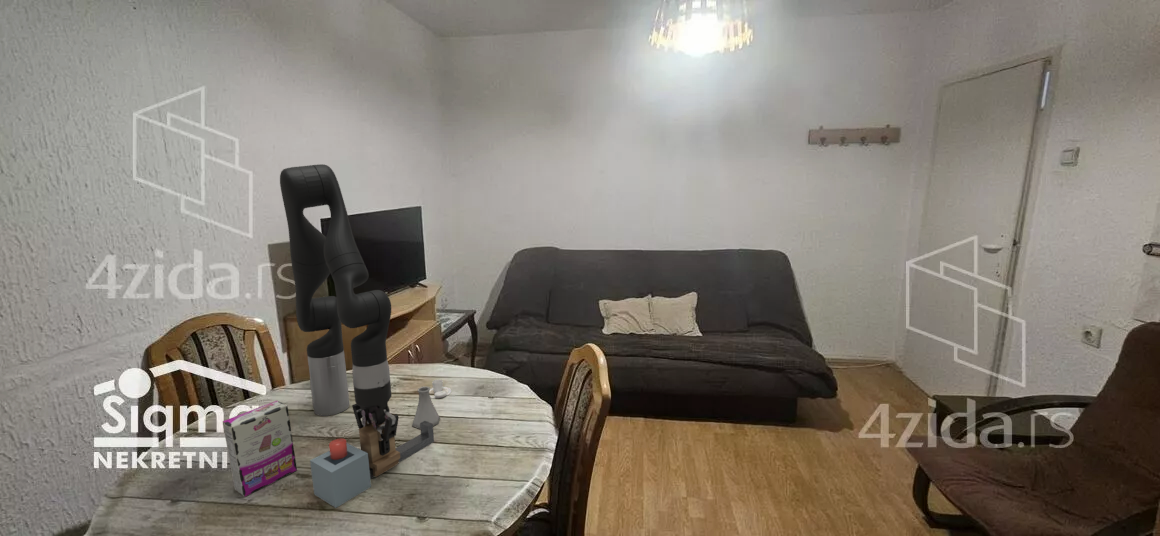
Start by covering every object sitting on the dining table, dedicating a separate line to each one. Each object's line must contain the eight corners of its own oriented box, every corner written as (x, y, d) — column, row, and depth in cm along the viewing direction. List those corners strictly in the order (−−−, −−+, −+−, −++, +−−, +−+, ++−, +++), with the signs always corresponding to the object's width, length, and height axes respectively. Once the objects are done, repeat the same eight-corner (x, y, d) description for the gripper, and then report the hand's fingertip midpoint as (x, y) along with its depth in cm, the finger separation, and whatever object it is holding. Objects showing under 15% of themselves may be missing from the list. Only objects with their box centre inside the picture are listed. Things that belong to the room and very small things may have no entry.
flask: (431, 430, 127) (429, 395, 125) (407, 428, 128) (404, 393, 126) (444, 417, 134) (442, 384, 132) (421, 415, 135) (418, 382, 133)
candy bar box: (286, 464, 112) (277, 399, 109) (297, 470, 110) (289, 404, 107) (232, 490, 103) (221, 420, 100) (243, 498, 100) (232, 426, 97)
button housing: (314, 494, 101) (309, 460, 100) (349, 474, 108) (345, 442, 107) (335, 508, 97) (331, 472, 96) (371, 486, 104) (367, 453, 102)
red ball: (327, 456, 101) (325, 443, 100) (341, 449, 103) (340, 436, 103) (336, 461, 99) (334, 448, 98) (350, 454, 102) (349, 441, 101)
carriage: (359, 468, 109) (354, 427, 107) (382, 455, 114) (378, 416, 112) (378, 478, 106) (373, 436, 104) (400, 464, 111) (397, 424, 109)
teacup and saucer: (446, 400, 145) (446, 388, 144) (420, 400, 145) (419, 388, 144) (454, 388, 153) (453, 376, 153) (430, 388, 153) (429, 376, 153)
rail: (356, 478, 107) (353, 458, 106) (426, 438, 123) (424, 420, 122) (364, 482, 105) (362, 462, 104) (434, 441, 121) (432, 423, 120)
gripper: (337, 379, 107) (344, 449, 110) (376, 394, 99) (383, 468, 102) (367, 367, 113) (374, 434, 116) (407, 381, 105) (412, 451, 109)
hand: (378, 450), depth 109 cm, fingers closed on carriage, 4 cm apart
